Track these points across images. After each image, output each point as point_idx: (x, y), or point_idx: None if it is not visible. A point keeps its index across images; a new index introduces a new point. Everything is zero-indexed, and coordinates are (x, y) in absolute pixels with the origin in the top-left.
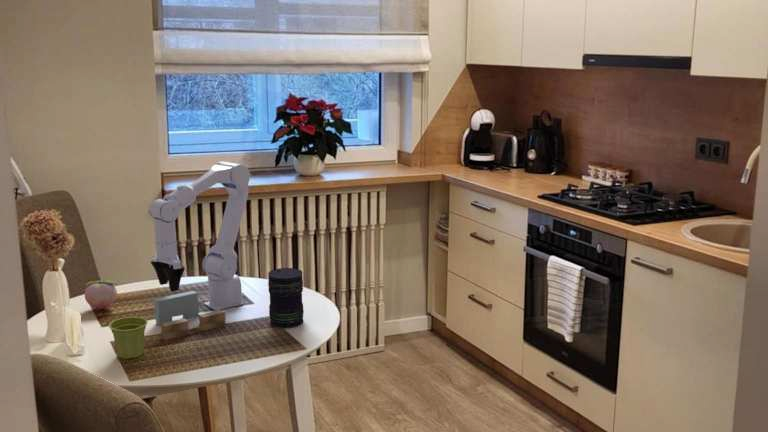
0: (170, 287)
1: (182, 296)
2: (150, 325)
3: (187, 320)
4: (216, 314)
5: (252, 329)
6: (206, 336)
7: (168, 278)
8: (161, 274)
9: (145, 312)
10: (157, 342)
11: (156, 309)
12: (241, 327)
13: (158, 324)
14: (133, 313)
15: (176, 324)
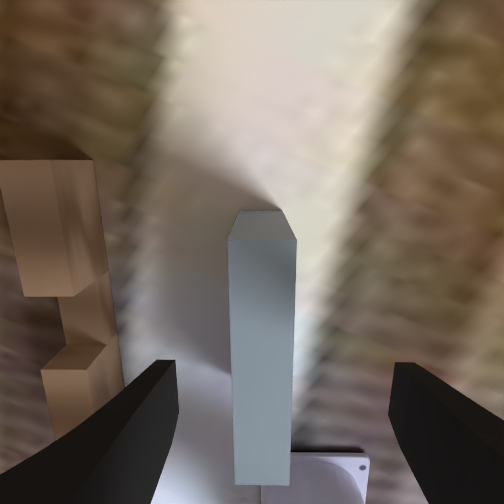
0: (137, 378)
1: (232, 400)
2: (277, 179)
3: (31, 296)
4: (53, 428)
5: (7, 462)
6: (14, 316)
7: (64, 451)
8: (455, 458)
9: (462, 229)
10: (41, 118)
11: (268, 225)
12: (45, 445)
13: (253, 211)
14: (496, 175)
15: (13, 231)
